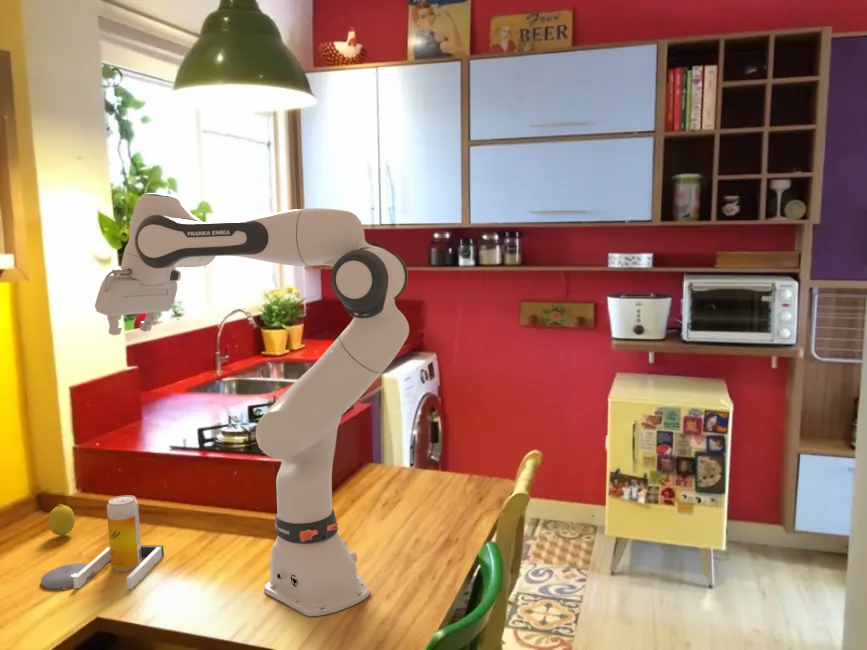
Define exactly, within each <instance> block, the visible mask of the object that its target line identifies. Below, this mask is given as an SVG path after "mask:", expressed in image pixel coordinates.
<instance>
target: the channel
mask: <svg viewBox="0 0 867 650" xmlns="http://www.w3.org/2000/svg"><path fill="white" fill-rule="evenodd" d="M164 556H165V552H164V545H163V544H141V557H146V558H144V559H142V561H141V562H140V563H139V565H138V566H137V567H136V568H135V569H132V570H131V571H132V572H130V573H129V575H127V576H126V587H127V588H130V589H129V590H133V589H134V588H135V587H136V586H137V585H138V584H139V583H140V582H139V581H141V580H142V579H143V578H145V576H147V574H148V573H149V572H150V571H151V570H152V569H153V568H154V567H155V566H156V565H157V564H158V563H159V562H160V561H161V560H162V559H163V557H164ZM109 560H110V561H111V558H110V545H109V546H107V547H106V548H105V549H104V550H103V551H102V552H101V553H100V554H98V555H97V556H96V557H95V558H93V559H92V560H91V561H90V562H89V563H87V564H88V565H87V566H86V567H84V568H83V569H82V570H81V571H80V572H79V573H77V574H76V575H75V576H74V577H73V579H74V587H73V589H74V588H79V589H81V588H82V587H83V586H84V585H85V584H86V583H87V582H88V581H87V580H86V578H87V577H88V576H89V575H91V574H92V573H93V572H95V573H96V572H97V571H98V572H99V571H100V570H101V569H103V568H104V567H105V566H106V565H107V564H108V563H109V562H110V561H109ZM158 561H159V562H158ZM107 562H108V563H107ZM157 562H158V563H157ZM106 563H107V564H106ZM156 563H157V564H156ZM105 564H106V565H105ZM155 564H156V565H155ZM104 565H105V566H104ZM154 565H155V566H154ZM103 566H104V567H103ZM153 566H154V567H153ZM102 567H103V568H102ZM98 572H97V573H98ZM97 573H96V574H97ZM85 582H86V583H85ZM138 582H139V583H138ZM84 583H85V584H84ZM137 583H138V584H137ZM83 584H84V585H83ZM136 584H137V585H136ZM82 585H83V586H82ZM135 585H136V586H135ZM81 586H82V587H81ZM134 586H135V587H134ZM133 587H134V588H133ZM132 588H133V589H132Z"/></svg>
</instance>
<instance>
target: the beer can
mask: <svg viewBox="0 0 867 650" xmlns="http://www.w3.org/2000/svg"><path fill="white" fill-rule="evenodd" d="M106 513H107V515H106V516H107V529H108V541H109V546H110V558H111V560H110V566H111V568H112V569H113V570H114V569H115V570H114V571H116V570H117V571H116V572H120V571H123V572H127V571H126V570H129V571H132V570H134V568H136V567H137V566H138V565H139V564H140V563H141V562H142V561H143V558H142V557H141V545H142V544H141V532H140V531H141V530H140V528H141V527H140V516H139V515H140V514H139V513H140V512H139V501H138V500H137V498H136V496H134V495H132V494H131V495H129V494H127V495H119V496H115V497H112V498H110V499H109V500H108V503H107V505H106ZM131 569H132V570H131Z"/></svg>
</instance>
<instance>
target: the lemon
mask: <svg viewBox="0 0 867 650" xmlns="http://www.w3.org/2000/svg"><path fill="white" fill-rule="evenodd" d="M75 524H76V519H75V514H74V511H73V509H72V508H71V507H70V506H68V505H66V504H65V505H64V504H62V503H61V504H58V505H57V506H55V507H54V508H53V509H52V510H51V511H50V513H49V515H48V527H49V529H50V532H51V533H53V534H54V535H57V536H60V537H65V536H66V535H67V534H68V533H70V532H71V531H72V530H73V528H74V526H75Z"/></svg>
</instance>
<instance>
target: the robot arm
mask: <svg viewBox="0 0 867 650" xmlns="http://www.w3.org/2000/svg"><path fill="white" fill-rule="evenodd" d="M128 235H129V236H128V237H129V238H128V242H127V244H126V246H125V247H124V251H123V255H122V259H121V264H120V268H119V269H118V268H113V269H112V270H111V271H110V272H108V274H106V275H105V277H104V279H103V280H102V282H101V285H100V287H99V290H98V293H97V296H96V300H95V302H94V303H95V304H94V308H95V311H96V312H97V313H99V314H101V315H105V316H107V317H106V318H107V322H108V325H109V328H108V335H111V336H119V335H121V332H122V326H120V322H119V321H121V319H122V316H126V315H127V316H129V315H137V314H138V315H139V314H146V316H145V318H144V320H143V321H140V326H139V330H140V331H143V332H145V333H146V332H150V331H151V329H152V326H153V324H154V323H155V321H156V320H157V318H158V316H159V313H163V312H169V311H170V310H171V309H172V308H173V306H174V303H175V299H176V297H177V292H178V282H179V281H180V280H181V277H182V273H181V271H180V270H177V269H176V268H200V267H203V266H206V265H207V266H208V265H209V264H210V263H212V261H214V259H215V257H223V256H226V257H227V256H228V257H241V258H247V259H254V260H257V261H258V260H259V261H263V262H268V263H273V264H277V265H278V264H279V265H285V266H292V267H293V266H295V267H311V266H313V267H314V266H330V267H332V269H331V273H330V284H331V287H332V290H333V292H334V294H335V295H336V297H337V298H338V299H339V301H340V302H341V303H342V304H343V306H344V308H345V309H346V312H347V313H348V314H349V316H351V317H353V318H352V320H351V321H350V323H349V324H348V325H347V326H346V328H345V329H344V330H343V331H342V332H341V333H340V335H338V337H337V338H336V339H335V340H334V341H333V343H331V344H330V346H329V347H328V348H327V349H326V351H325V352H324V353H323V354H322V355H321V356H320V357H319V358H318V360H316V362H315V363H314V364H313V365H312V366H311V367H310V368H308V370H307V371H306V372H304V373H303V374H302V375H301V376H299V378H298V379H297V380H296V381H295V382H294V383H293V384H292V385H290V386H289V388H288V389H287V390H286V391H285V392H284V393H283V394H282V395H280V397H279V398H278V399H277V400H276V401H275V402H274V403H273V404H272V405H271V406H270V407H269V409H267V410H266V411H265V413H264V414H263V415H262V416H261V417H260V418H259V420H258V421H257V424H256V428H255V437H256V438H255V439H256V442H257V445H258V447H259V448H260V449H261V451H262V453H264V454H265V455H267V456H268V457H269V458H272V459H275V460H280V461H281V464H280V466H279V468H278V469H279V470H278V472H277V475H276V481H275V485H276V486H275V487H276V506H277V509H276V510H277V513H276V514H275V522H274V525H275V533H276V535H277V537H276V539H275V541H274V543H273V545H272V547H271V549H270V557H269V558H270V559H269V561H270V562H269V563H270V564H269V565H270V566H269V581H267V583H265V584H264V587H263V589H264V590H263V592H264V593H265V594H266V595H268V596H271V598H274V599H275V600H278V602H279V601H280V602H281V603H283V604H285V605H286V606H289V607H290V608H292V609H293V610H296V611H298V612H299V613H301V614H303V615H305V616H307V617H320V616H325V615H329V614H333V613H336V612H340V611H342V610H345V609H347V608H350V607H353V606H355V605H356V604H359V603H360V602H362V601H363V600H365V599H367V597H369V596H370V594H371V590H370V587H369V586H368V585H367V584H366V583H365V581H364V579H362V577H361V575H359V574H358V572H357V566H356V563H357V562H358V556H357V553H356V552H355V550H353V551H349V549H348V548H347V543H346V540H345V539H342V537H341V536H340V534H339V532H338V530H339V526H338V525H339V522H337V516H336V514H335V510H334V509H333V494H332V493H333V491H332V489H333V487H332V485H333V484H332V483H333V482H332V474H333V473H332V472H333V464H334V458H335V451H336V445H337V444H336V443H337V435H338V428H339V424H340V422H341V418H342V416H343V415H344V414H345V413H346V412H347V411H348V409H350V408H351V407H352V406H353V405H354V404H355V403H357V401H358V400H359V399H360V398H361V397H362V396H363V395H364V394H365V392H366V391H367V390H368V389H369V388H370V387H371V386H372V385H373V384H374V382H375V381H376V380H377V379H378V378H379V377H380V376H381V375H382V374H383V373H384V371H385V370H386V369H387V368H388V367H389V366H390V364H391V363H392V362H393V360H394V359H395V357H397V356H398V353H399V352H400V350H401V349H402V347H403V346H404V344H405V342H406V340H407V339H408V337H409V333H410V326H409V322H408V320H407V318H406V316H405V315H404V314H403V313H402V311H401V310H399V309H398V307H397V306H396V303H395V302H396V301H395V300H396V299H397V298H398V297H399V296H401V295H402V293H403V292H404V291H405V288H406V287H407V284H408V280H409V272H408V268H407V266H406V263H405V262H404V260H403V259H402V258H401V257H400V256H399V255H398V254H397V253H395V252H393V251H392V250H389V248H388V249H387V248H386V247H384V246H382V245H380V244H378V243H376V242H375V241H369V242H367V241H366V238H365V237H366V236H365V229H364V226H363V223H362V221H361V220H360V218H359V216H357V215H356V214H355V213H353V212H352V211H348V210H342V209H333V208H299V209H298V208H297V209H291V210H284V211H278V212H275V213H270V214H265V215H260V216H257V217H255V216H254V217H250V218H247V219H241V220H234V221H223V222H221V221H220V222H218V221H217V222H215V221H214V222H204V221H202V220H200V219H199V218H198V217H196V216H195V215H194V214H193V213H191V212H190V211H189V210H188V209H187V208H186V207H185V206H184V205H183V203H182V201H181V199H180V198H178V197H177V196H174V195H172V194H162V193H157V192H155V193H154V192H146V193H143V194H141V196H139V198H138V200H137V202H136V203H135V206H134V208H133V213H132V216H131V219H130V224H129V228H128Z"/></svg>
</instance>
